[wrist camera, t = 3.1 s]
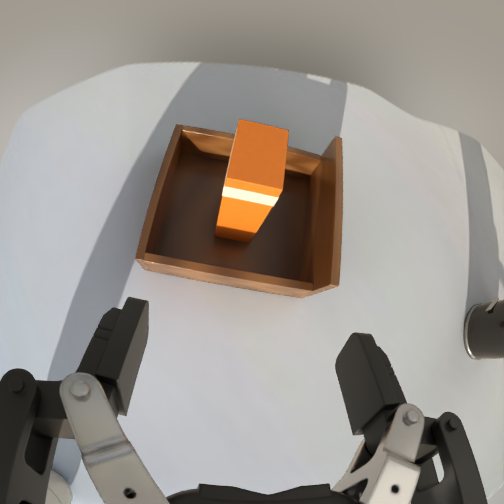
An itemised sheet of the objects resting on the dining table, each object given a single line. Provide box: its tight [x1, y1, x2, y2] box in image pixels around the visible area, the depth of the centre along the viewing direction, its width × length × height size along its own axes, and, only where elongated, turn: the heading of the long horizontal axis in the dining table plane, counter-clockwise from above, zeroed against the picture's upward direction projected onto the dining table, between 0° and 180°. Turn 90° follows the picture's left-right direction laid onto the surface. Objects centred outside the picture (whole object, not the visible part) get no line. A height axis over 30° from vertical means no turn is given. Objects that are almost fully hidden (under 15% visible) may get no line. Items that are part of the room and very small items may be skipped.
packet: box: [215, 119, 289, 243], centre depth 27 cm, size 4×6×13 cm
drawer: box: [135, 124, 343, 298], centre depth 29 cm, size 18×16×9 cm
